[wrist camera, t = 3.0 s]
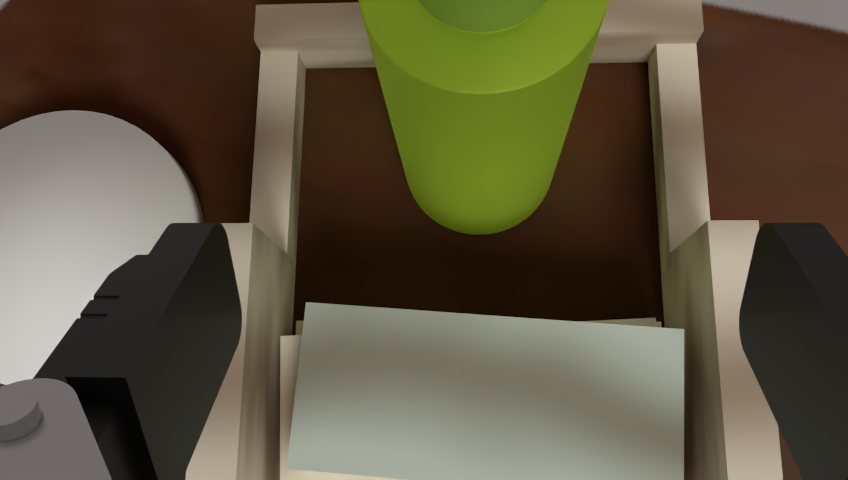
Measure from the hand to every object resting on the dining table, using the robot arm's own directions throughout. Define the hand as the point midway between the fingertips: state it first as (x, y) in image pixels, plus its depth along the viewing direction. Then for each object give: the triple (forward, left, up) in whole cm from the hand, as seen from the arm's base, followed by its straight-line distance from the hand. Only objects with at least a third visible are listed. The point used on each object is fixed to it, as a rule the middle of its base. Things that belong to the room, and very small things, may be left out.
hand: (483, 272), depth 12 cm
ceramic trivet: (-12, +12, -17) cm, 24 cm away
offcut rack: (+2, +4, -17) cm, 18 cm away
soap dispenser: (+4, +6, -17) cm, 19 cm away
